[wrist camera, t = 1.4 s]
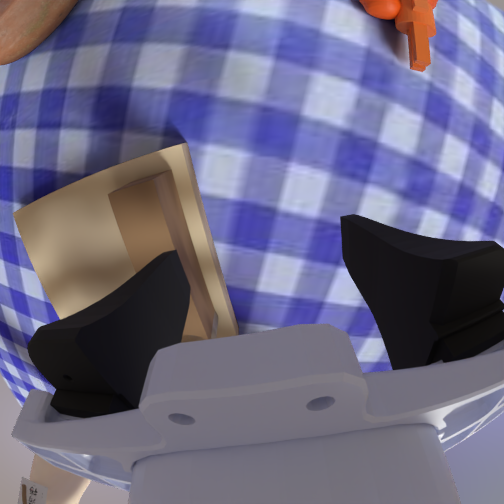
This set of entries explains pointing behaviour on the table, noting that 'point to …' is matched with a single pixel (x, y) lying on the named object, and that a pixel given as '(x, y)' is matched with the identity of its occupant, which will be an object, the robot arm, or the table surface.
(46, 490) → the water bottle
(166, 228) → the folding leg
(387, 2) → the orange blocky toy
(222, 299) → the board
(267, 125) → the table surface
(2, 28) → the ceramic jug
